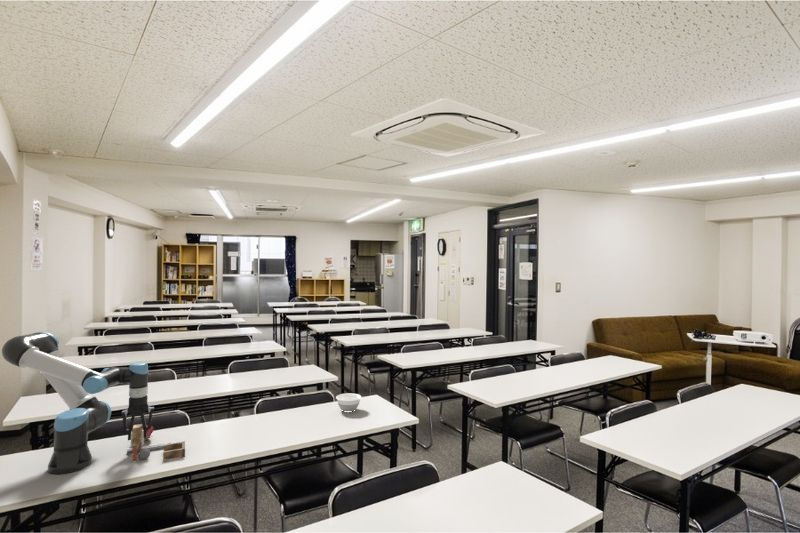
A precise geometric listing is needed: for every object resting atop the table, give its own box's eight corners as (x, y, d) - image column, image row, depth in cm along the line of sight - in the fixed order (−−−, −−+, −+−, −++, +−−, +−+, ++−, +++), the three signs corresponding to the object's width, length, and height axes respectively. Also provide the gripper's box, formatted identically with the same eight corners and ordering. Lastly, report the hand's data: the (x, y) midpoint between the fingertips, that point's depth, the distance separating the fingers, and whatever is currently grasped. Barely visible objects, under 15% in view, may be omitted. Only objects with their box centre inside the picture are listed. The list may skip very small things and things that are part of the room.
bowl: (332, 413, 253) (332, 399, 253) (340, 405, 269) (340, 392, 269) (357, 415, 251) (357, 401, 251) (364, 407, 266) (364, 394, 266)
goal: (163, 460, 188) (163, 452, 188) (163, 452, 197) (163, 444, 197) (184, 456, 192) (185, 448, 192) (184, 448, 201) (184, 441, 201)
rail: (126, 454, 193) (126, 451, 193) (127, 452, 195) (127, 449, 195) (170, 447, 202) (170, 444, 202) (170, 445, 204) (171, 442, 204)
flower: (156, 438, 208) (157, 423, 212) (136, 440, 201) (136, 423, 205) (148, 445, 212) (149, 430, 216) (128, 447, 206) (129, 431, 210)
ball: (138, 462, 186) (138, 452, 186) (138, 458, 190) (139, 448, 190) (149, 460, 188) (149, 450, 188) (150, 456, 192) (150, 446, 192)
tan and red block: (129, 462, 185) (130, 435, 185) (132, 449, 197) (133, 425, 198) (139, 460, 186) (140, 434, 187) (141, 448, 199) (142, 423, 199)
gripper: (116, 400, 189) (114, 451, 189) (158, 395, 197) (157, 445, 197) (118, 396, 196) (117, 445, 196) (158, 391, 204) (157, 439, 204)
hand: (137, 445), depth 196 cm, fingers closed on tan and red block, 4 cm apart
